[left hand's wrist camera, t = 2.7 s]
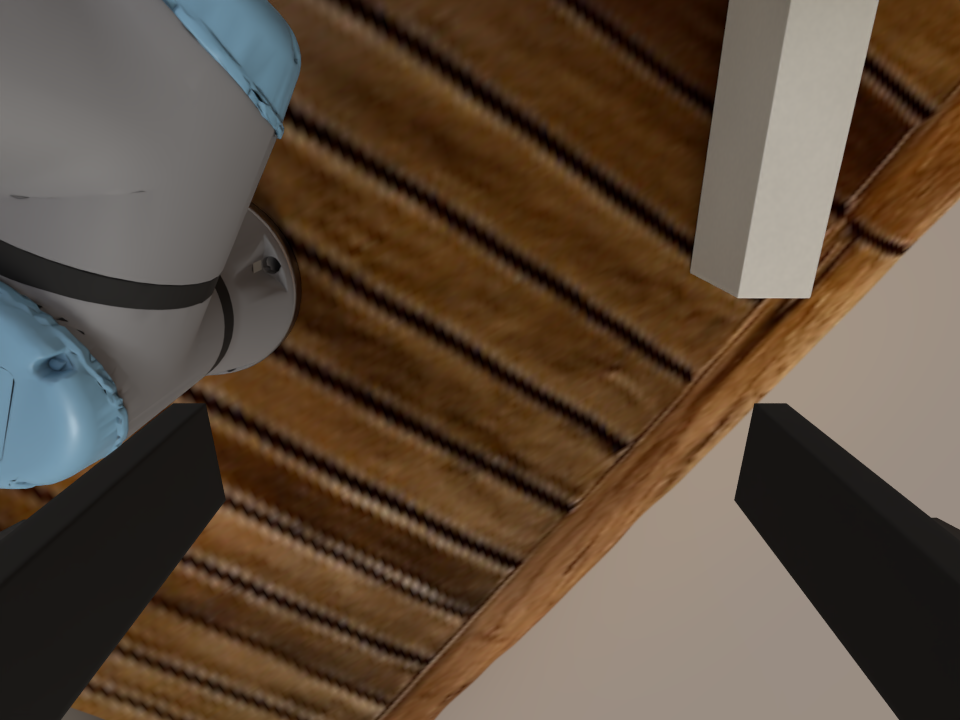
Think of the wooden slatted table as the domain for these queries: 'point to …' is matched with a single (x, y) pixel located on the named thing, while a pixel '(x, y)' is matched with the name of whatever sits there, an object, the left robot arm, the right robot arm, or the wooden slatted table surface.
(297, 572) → the wooden slatted table surface
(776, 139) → the bar
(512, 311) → the wooden slatted table surface
